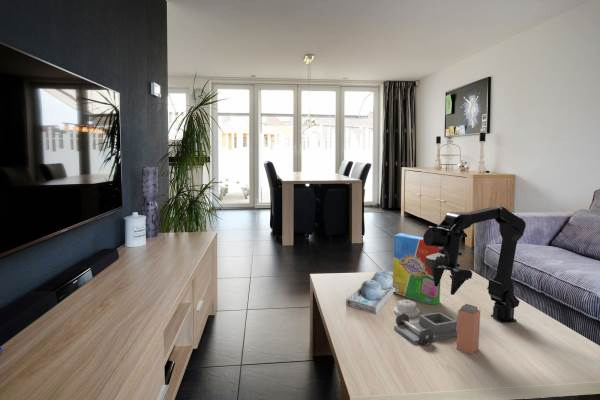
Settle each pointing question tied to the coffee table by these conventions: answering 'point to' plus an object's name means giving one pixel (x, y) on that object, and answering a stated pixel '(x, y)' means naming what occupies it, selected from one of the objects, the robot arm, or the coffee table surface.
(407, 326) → the chassis
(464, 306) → the two-tone capped block
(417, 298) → the game box
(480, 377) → the coffee table surface
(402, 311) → the mechanical component
